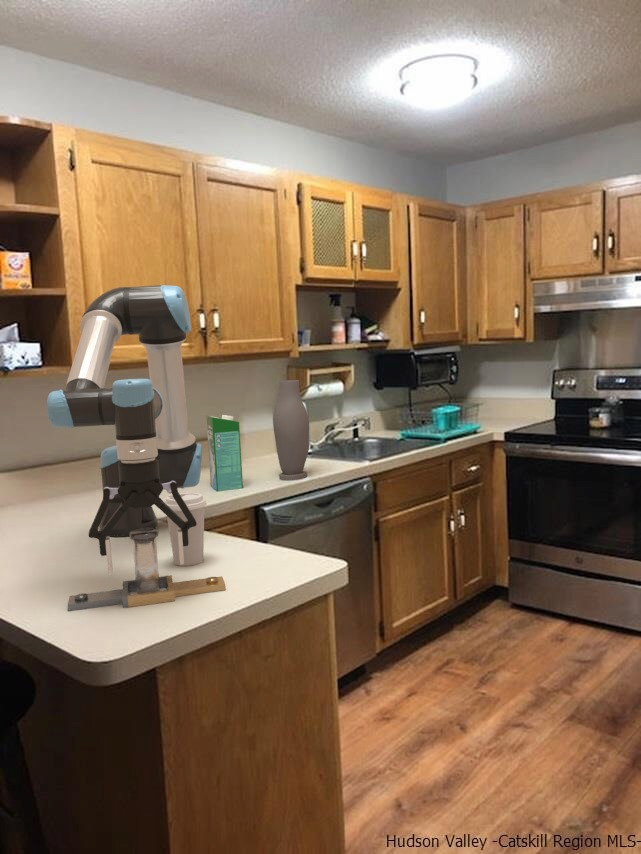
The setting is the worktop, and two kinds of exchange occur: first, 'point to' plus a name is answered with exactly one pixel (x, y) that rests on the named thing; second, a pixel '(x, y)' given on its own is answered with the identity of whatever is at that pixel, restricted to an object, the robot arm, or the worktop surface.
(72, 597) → the link plate steel
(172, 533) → the coffee cup
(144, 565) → the pin
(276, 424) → the vase
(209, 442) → the milk carton
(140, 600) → the link plate bronze
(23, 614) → the worktop surface
